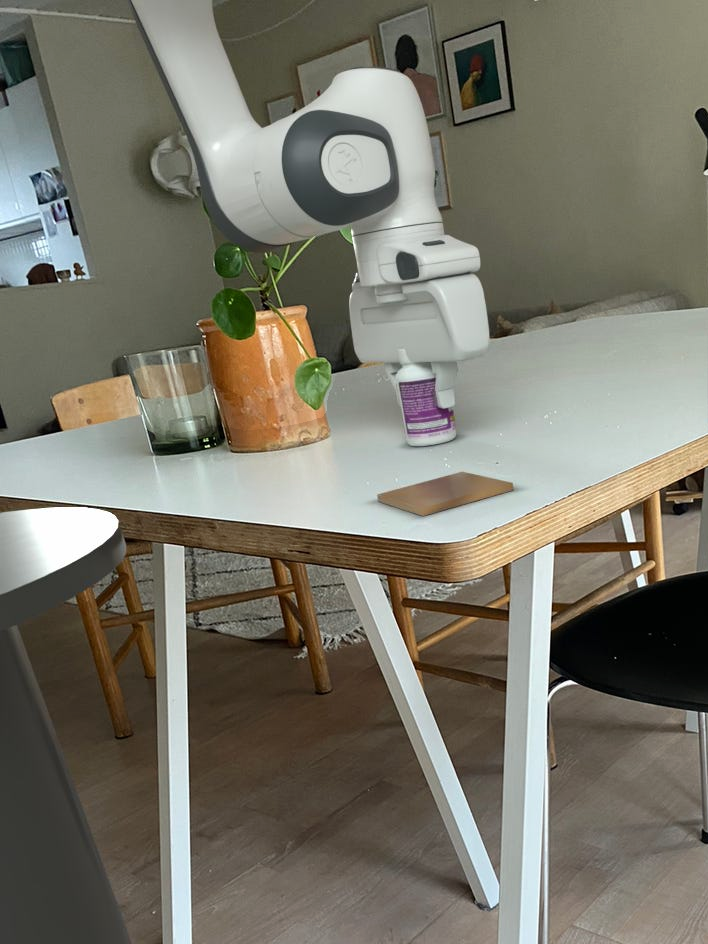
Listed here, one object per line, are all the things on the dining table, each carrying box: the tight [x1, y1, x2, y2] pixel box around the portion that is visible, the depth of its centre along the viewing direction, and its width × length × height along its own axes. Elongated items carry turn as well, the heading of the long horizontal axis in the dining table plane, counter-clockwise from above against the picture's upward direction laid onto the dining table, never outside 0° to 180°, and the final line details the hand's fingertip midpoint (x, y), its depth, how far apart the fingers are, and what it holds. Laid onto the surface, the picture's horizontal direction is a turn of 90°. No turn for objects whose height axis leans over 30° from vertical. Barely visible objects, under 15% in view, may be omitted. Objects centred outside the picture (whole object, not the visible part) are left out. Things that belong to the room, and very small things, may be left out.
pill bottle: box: [396, 349, 457, 447], centre depth 95 cm, size 5×5×10 cm
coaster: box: [376, 471, 514, 517], centre depth 73 cm, size 8×8×1 cm
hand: (426, 406), depth 95 cm, fingers closed on pill bottle, 5 cm apart
